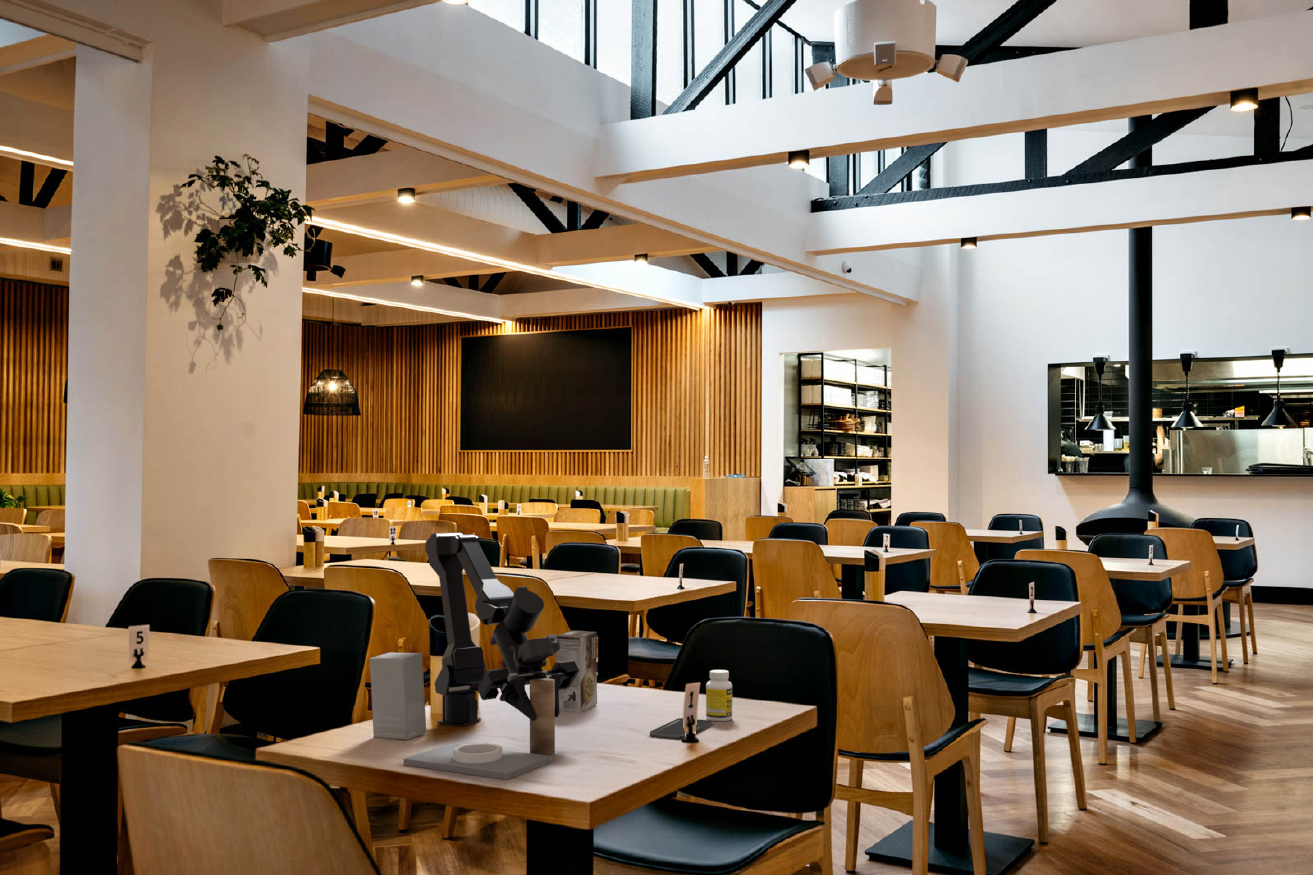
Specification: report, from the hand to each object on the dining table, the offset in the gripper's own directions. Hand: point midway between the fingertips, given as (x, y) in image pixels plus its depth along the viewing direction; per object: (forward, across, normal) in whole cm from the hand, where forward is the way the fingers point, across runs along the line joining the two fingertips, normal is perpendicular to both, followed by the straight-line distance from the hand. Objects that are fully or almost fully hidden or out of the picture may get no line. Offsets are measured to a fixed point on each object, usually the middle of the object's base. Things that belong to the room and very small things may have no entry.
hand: (546, 717), depth 194 cm
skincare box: (-17, -15, +27) cm, 35 cm away
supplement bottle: (+2, +44, +8) cm, 45 cm away
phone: (+5, +31, +6) cm, 32 cm away
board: (+3, -12, +6) cm, 14 cm away
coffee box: (-18, +27, +28) cm, 43 cm away
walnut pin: (+4, 0, +6) cm, 7 cm away
